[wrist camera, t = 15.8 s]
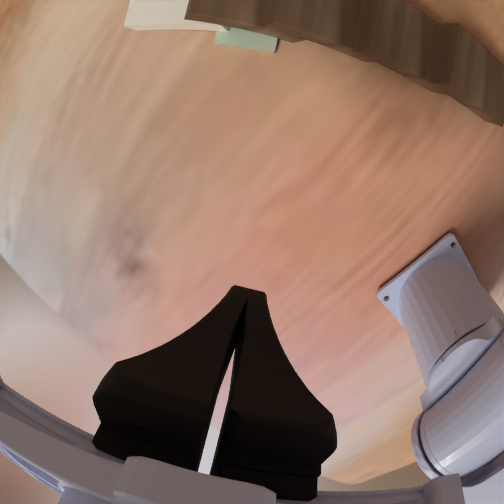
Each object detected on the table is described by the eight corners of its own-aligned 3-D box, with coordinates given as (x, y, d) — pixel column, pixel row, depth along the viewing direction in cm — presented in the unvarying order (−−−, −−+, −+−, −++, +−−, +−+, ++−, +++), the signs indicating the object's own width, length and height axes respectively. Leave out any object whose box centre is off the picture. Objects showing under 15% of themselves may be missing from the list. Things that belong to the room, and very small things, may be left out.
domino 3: (391, 5, 12) (290, -41, 10) (382, 61, 14) (275, 21, 12) (374, 8, 14) (278, -31, 11) (365, 61, 16) (264, 27, 13)
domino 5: (511, 74, 12) (458, 23, 10) (502, 126, 14) (449, 85, 12) (493, 71, 13) (437, 24, 11) (484, 120, 16) (428, 82, 13)
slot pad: (293, -24, 13) (293, -26, 13) (274, 53, 16) (274, 52, 16) (234, -31, 13) (234, -33, 13) (215, 44, 16) (213, 43, 16)
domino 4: (459, 39, 12) (380, -14, 10) (451, 95, 14) (369, 50, 12) (441, 39, 14) (363, -8, 12) (432, 91, 16) (351, 51, 14)
